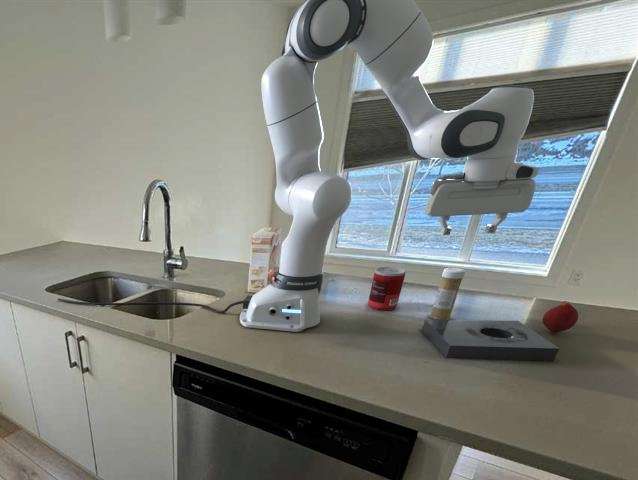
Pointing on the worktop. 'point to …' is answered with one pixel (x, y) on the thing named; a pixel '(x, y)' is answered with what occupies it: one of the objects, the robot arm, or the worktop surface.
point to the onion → (560, 317)
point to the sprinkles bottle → (447, 293)
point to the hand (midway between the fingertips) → (466, 233)
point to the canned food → (386, 288)
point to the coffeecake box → (263, 257)
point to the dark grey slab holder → (488, 340)
